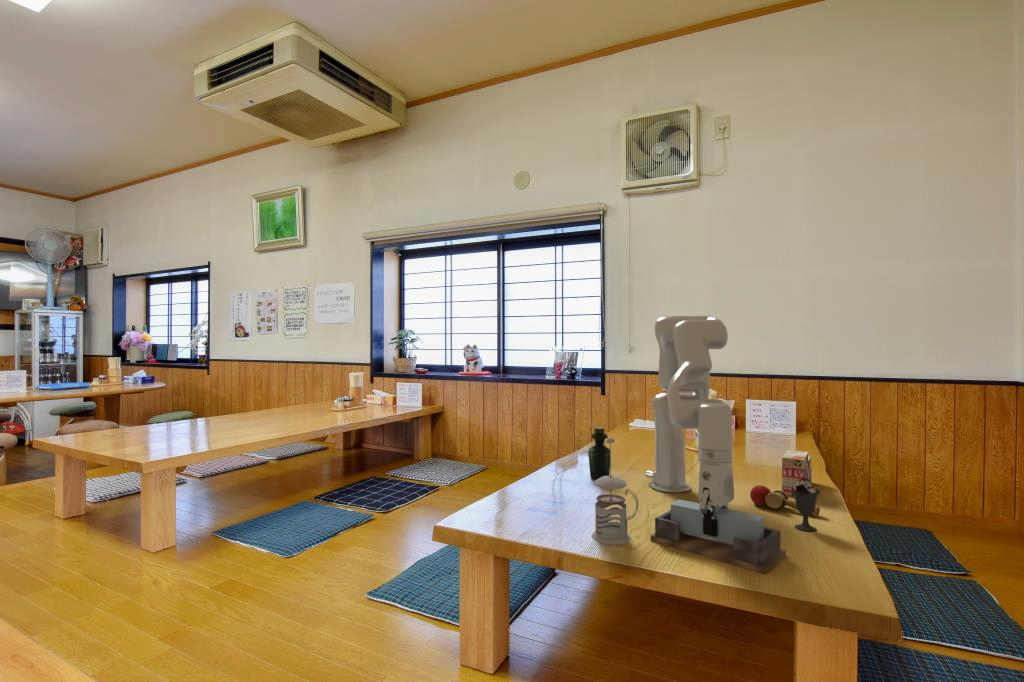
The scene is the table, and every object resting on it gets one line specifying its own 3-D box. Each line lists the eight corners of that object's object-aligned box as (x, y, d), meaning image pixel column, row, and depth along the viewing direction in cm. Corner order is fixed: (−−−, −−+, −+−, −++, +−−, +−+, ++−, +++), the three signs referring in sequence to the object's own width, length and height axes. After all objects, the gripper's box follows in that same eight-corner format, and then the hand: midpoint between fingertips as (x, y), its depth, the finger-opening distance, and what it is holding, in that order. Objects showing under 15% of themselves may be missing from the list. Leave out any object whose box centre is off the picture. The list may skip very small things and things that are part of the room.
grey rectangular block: (670, 528, 127) (670, 504, 127) (678, 522, 131) (678, 499, 130) (758, 549, 114) (758, 522, 114) (764, 542, 118) (763, 516, 118)
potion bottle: (610, 475, 187) (610, 425, 187) (612, 481, 179) (611, 429, 179) (587, 474, 188) (587, 425, 188) (588, 481, 180) (588, 429, 180)
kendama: (820, 517, 146) (754, 496, 158) (823, 497, 145) (756, 477, 157) (813, 529, 141) (745, 506, 153) (816, 508, 139) (747, 487, 151)
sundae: (810, 523, 138) (809, 467, 138) (826, 533, 131) (825, 474, 131) (785, 524, 137) (785, 467, 137) (800, 533, 131) (800, 474, 131)
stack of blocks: (791, 479, 180) (791, 444, 180) (811, 482, 176) (811, 446, 176) (781, 495, 163) (781, 456, 163) (804, 498, 159) (804, 459, 159)
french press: (595, 527, 136) (595, 433, 136) (640, 533, 132) (640, 436, 132) (587, 541, 127) (586, 440, 127) (635, 548, 122) (634, 443, 122)
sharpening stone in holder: (650, 540, 127) (650, 517, 127) (675, 526, 137) (675, 505, 136) (766, 574, 108) (766, 547, 108) (785, 555, 118) (785, 531, 118)
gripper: (715, 464, 114) (716, 546, 114) (744, 451, 126) (745, 526, 126) (683, 459, 119) (684, 537, 119) (714, 447, 131) (714, 518, 131)
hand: (715, 530), depth 122 cm, fingers closed on grey rectangular block, 5 cm apart
